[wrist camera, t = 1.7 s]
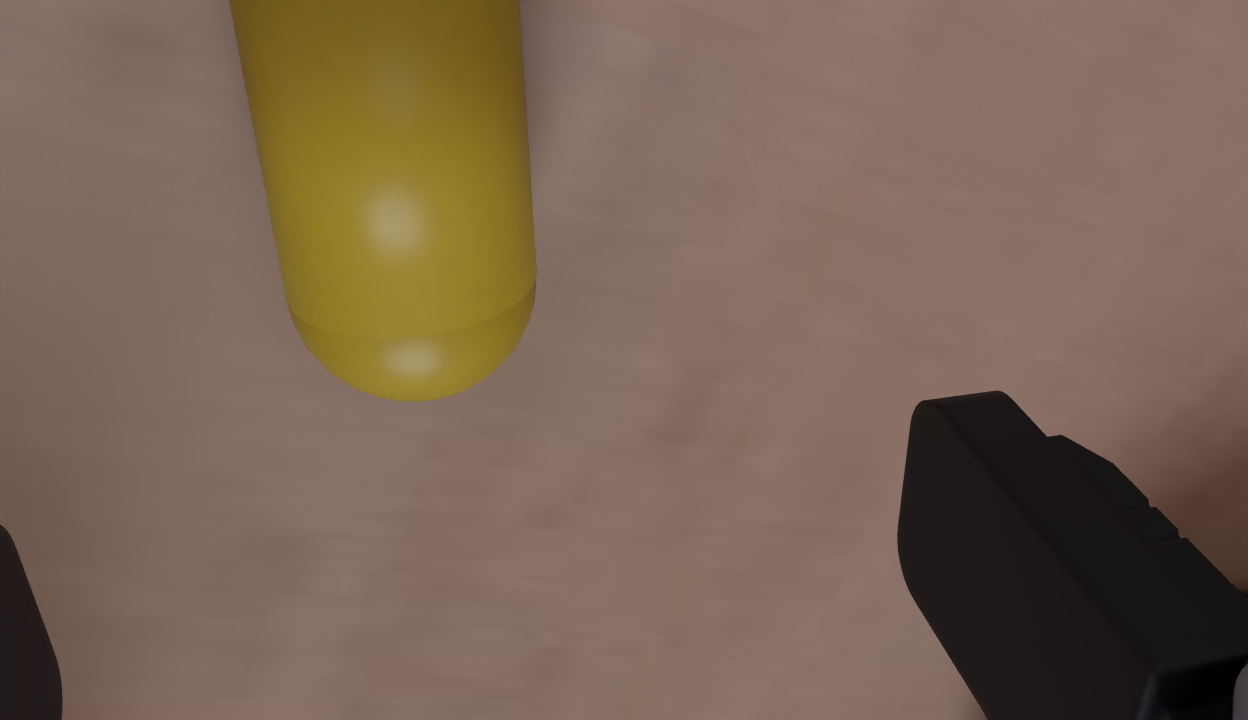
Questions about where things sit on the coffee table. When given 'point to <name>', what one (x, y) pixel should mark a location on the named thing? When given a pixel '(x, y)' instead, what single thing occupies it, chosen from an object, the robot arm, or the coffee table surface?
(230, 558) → the coffee table surface
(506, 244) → the capsule
